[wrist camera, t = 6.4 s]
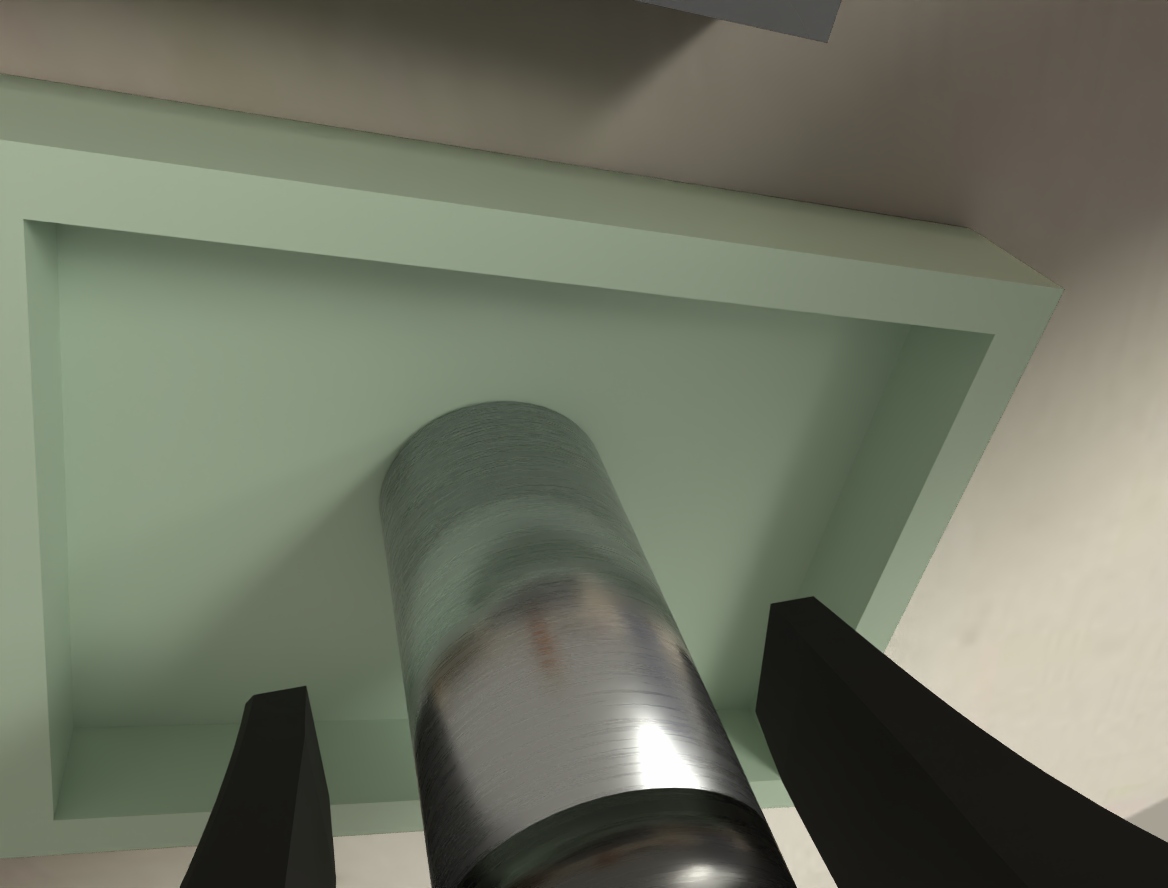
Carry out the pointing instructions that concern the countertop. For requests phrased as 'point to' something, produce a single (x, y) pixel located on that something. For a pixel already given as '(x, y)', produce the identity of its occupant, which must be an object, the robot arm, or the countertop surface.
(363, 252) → the tray
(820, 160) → the countertop surface
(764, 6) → the hitch block
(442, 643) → the pin
